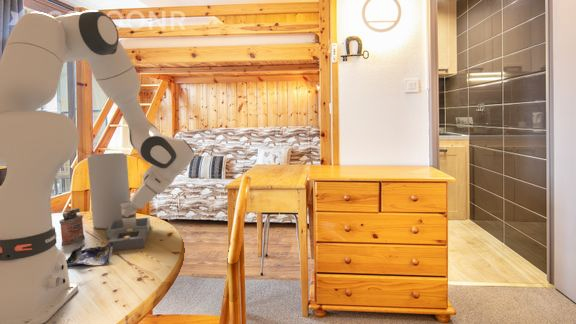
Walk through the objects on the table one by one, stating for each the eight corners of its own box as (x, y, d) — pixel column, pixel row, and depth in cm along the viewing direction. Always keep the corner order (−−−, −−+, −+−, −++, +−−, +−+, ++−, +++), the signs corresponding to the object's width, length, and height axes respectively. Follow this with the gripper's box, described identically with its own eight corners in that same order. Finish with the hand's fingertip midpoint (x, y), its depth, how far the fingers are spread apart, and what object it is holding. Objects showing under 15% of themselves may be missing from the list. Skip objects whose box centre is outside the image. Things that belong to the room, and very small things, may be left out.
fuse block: (144, 248, 112) (143, 236, 111) (110, 251, 109) (109, 239, 109) (146, 238, 121) (145, 226, 121) (115, 241, 119) (114, 230, 118)
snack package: (73, 277, 93) (120, 261, 102) (68, 250, 93) (115, 237, 102) (55, 273, 101) (101, 259, 110) (51, 249, 101) (96, 237, 110)
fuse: (136, 231, 127) (134, 203, 126) (121, 233, 125) (119, 204, 124) (138, 228, 131) (136, 200, 130) (123, 229, 130) (121, 201, 129)
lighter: (68, 245, 116) (65, 213, 115) (58, 245, 116) (55, 212, 115) (87, 237, 124) (84, 206, 122) (78, 237, 124) (75, 206, 123)
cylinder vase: (136, 224, 138) (131, 154, 135) (99, 231, 130) (93, 157, 127) (124, 218, 147) (119, 152, 145) (88, 224, 139) (82, 155, 136)
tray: (148, 235, 124) (147, 226, 124) (107, 239, 121) (106, 230, 121) (150, 225, 136) (149, 217, 135) (113, 229, 132) (112, 220, 132)
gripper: (149, 170, 138) (122, 199, 136) (146, 178, 119) (114, 213, 117) (163, 182, 140) (136, 211, 138) (162, 191, 120) (131, 225, 119)
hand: (126, 212), depth 127 cm, fingers open, 8 cm apart
